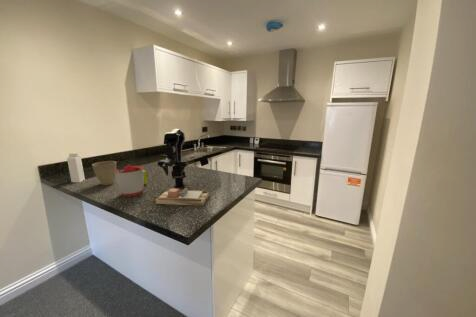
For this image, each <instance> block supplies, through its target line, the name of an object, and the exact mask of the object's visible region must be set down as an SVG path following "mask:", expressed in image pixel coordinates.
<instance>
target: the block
mask: <svg viewBox="0 0 476 317" xmlns="http://www.w3.org/2000/svg"><path fill="white" fill-rule="evenodd" d="M179 190H180V188H170V190H169V191H168V198H178V197H179V196H180V194H179Z"/></svg>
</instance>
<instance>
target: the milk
mask: <svg viewBox="0 0 476 317" xmlns="http://www.w3.org/2000/svg"><path fill="white" fill-rule="evenodd" d="M66 160H67V164H68V165H67V166H68V171H69V176H70V180H71V183H72V182H73V183H81V182H84V181H85V173H84V167H83V162H82V157H81V155H78V153H69V154H68V157H67V158H66ZM83 180H84V181H83Z"/></svg>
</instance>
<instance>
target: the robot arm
mask: <svg viewBox="0 0 476 317" xmlns="http://www.w3.org/2000/svg"><path fill="white" fill-rule="evenodd" d="M163 136H164V137H163V145H165V146H164V147H163V154H164V155H166V158H165V159H159V160H158V161H157V167H159V168H161V169H163V172H164V173H165V175H166V176H167V177H168V176H169V167H172V170H171V178H172V180H173V179H174V185H173V187H174V188H182V187H184V186H185V185H186V183H184V179H186V178H187V175H186V171H185V168H187V167H188V166H189V165H190V162H189V160H187V159H186V160H184V159H182V157H183V156H182V155H183V146H184V144H185V141H186V136H185V132H183V131H182V130H181V129H180V128H173V129H172V130H171V131H170V132H165V134H163Z"/></svg>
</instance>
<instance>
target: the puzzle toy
mask: <svg viewBox="0 0 476 317" xmlns="http://www.w3.org/2000/svg"><path fill="white" fill-rule="evenodd" d="M143 176H144V185H148V179H147V171H146V170H144V169H143Z"/></svg>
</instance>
